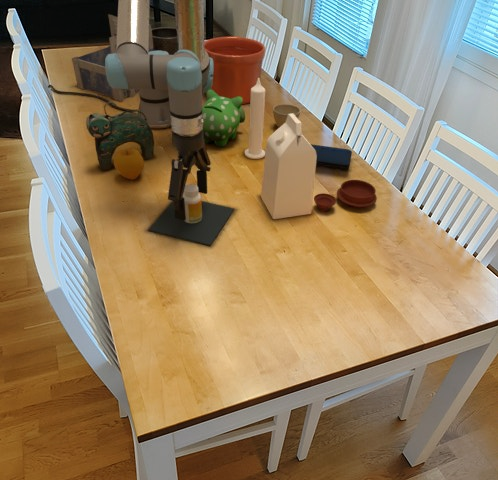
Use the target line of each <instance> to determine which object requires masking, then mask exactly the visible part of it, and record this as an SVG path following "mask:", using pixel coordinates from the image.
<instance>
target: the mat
mask: <svg viewBox="0 0 498 480" xmlns="http://www.w3.org/2000/svg"><path fill="white" fill-rule="evenodd" d="M201 201H202V200H201ZM234 211H235V208H234V207H230V206H226V205H220V204H217V203H212V202H208V201H202V219H201V221H199V222H197V223H187V222H185V221H184V220H180V219H176V218H175V211H174V201H171V202H170V203H169V205H168V206H167V207H166V208H165V209H163V211H162V213H161V214H160V215H159V216H158V217H157V218H156V220H155V221H154V222H153V223H152V224H151V225H150V227H149V228H148V229H147V231H148V232H150V233H155V234H159V235H163V236H168V237H171V238H175V239H179V240H183V241H188V242H191V243H195V244H199V245H204V246H207V247H211V246H212V245H213V243H214V242H215V240H216V239H217V237H218V236H219V234H220V232H221V231H222V230H223V228H224V227H225V225H226V223H227V222H228V220H229V219H230V217H231V216H232V215H233V212H234Z"/></svg>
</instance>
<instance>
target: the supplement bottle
mask: <svg viewBox="0 0 498 480" xmlns="http://www.w3.org/2000/svg"><path fill="white" fill-rule="evenodd" d="M183 198H184V201H185V215H186V219H185V222H187V223H197V222H199V221H201V219H202V195H201V193H200V192H199V191H198V186H197V184H194V183H189V184H188V183H186V185H185V189H184V193H183Z"/></svg>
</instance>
